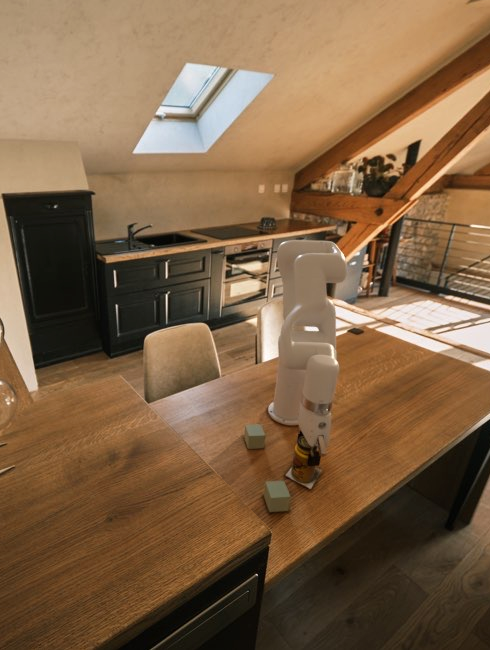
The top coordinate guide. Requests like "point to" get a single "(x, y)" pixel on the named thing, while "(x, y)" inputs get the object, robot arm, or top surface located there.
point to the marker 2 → (276, 496)
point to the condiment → (303, 465)
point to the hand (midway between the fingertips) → (307, 454)
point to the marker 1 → (254, 436)
